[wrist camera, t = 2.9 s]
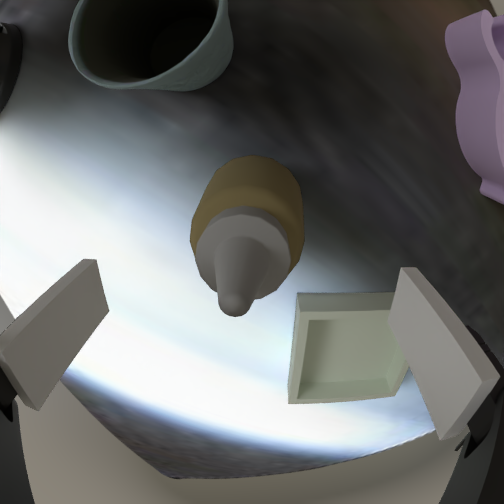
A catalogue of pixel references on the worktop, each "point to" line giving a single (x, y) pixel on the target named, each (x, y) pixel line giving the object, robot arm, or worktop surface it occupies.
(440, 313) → the robot arm
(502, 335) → the worktop surface
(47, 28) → the worktop surface
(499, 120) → the clip
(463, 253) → the worktop surface
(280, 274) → the squeeze bottle
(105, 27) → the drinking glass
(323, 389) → the tray
